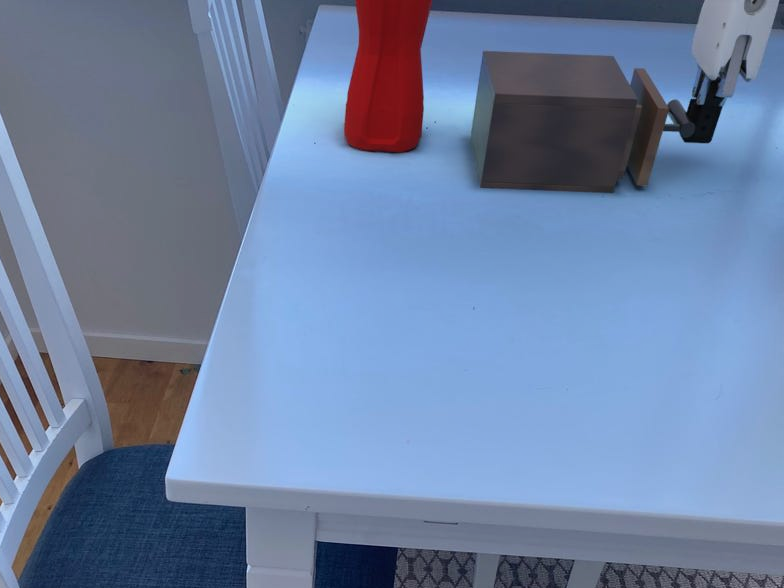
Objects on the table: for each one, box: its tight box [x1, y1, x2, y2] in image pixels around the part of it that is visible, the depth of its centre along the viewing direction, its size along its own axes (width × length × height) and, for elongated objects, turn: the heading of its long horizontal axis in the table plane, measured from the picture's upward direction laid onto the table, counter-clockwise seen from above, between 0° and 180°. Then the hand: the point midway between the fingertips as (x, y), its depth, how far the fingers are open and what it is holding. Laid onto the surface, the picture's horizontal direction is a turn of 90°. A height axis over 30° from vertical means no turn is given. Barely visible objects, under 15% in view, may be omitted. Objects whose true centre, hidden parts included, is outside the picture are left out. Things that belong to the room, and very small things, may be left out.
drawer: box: [617, 67, 695, 187], centre depth 105 cm, size 18×13×8 cm
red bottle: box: [343, 0, 434, 154], centre depth 105 cm, size 9×11×25 cm
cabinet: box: [469, 50, 638, 194], centre depth 105 cm, size 15×14×10 cm
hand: (694, 139), depth 106 cm, fingers closed
